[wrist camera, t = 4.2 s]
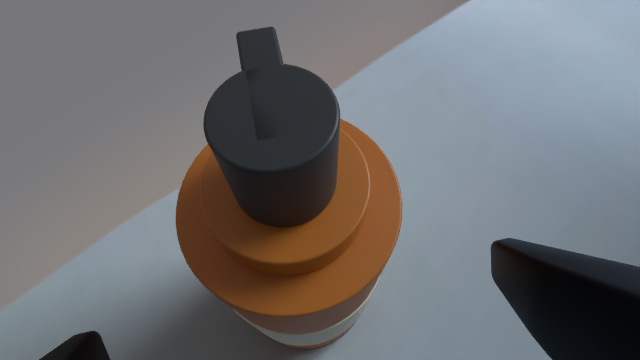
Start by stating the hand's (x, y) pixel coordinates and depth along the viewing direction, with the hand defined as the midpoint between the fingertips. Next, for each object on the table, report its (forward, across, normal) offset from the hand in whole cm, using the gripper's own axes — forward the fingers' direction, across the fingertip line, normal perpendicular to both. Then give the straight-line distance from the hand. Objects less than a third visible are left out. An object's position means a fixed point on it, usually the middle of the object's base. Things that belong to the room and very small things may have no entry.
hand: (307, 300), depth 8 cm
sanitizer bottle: (+9, 0, +5) cm, 10 cm away
